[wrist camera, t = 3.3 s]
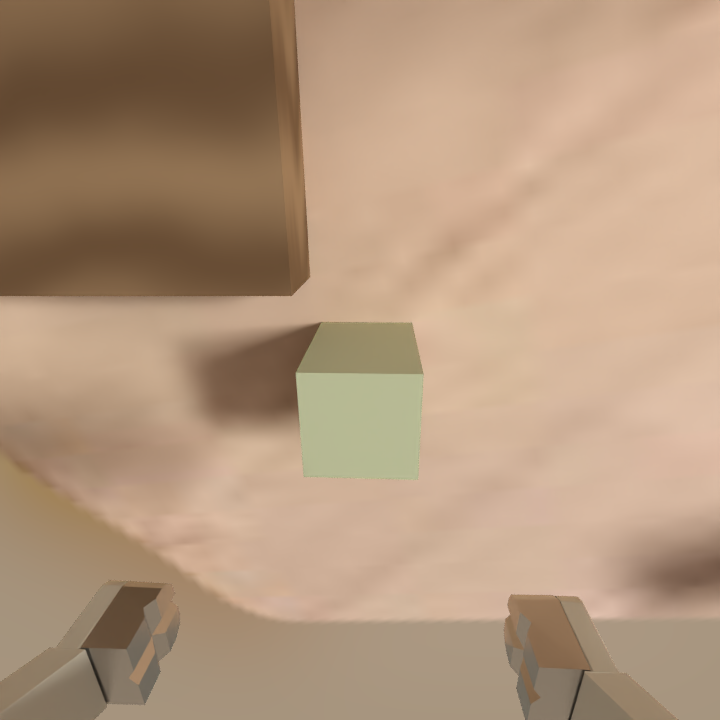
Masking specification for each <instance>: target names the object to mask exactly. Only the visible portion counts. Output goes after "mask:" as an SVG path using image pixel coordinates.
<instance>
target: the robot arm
mask: <svg viewBox="0 0 720 720" xmlns="http://www.w3.org/2000/svg"><path fill="white" fill-rule="evenodd" d="M174 594H175V592H174V589H173V586H172V584H168V583H152V582H137V581H118V580H109V581H108V582H106V583H105V584H103V585H102V586H101V588H100V589H99V590H98V592H97V593H96V594H95V596H94V597H93V598H92V600H91V601H90V602H89V604H88V605H87V606H86V608H85V609H84V611H83V612H82V613H81V614H80V616H79V617H78V618H77V620H76V621H75V623H74V624H73V625H72V627H71V628H70V629H69V631H68V632H67V633H66V635H65V636H64V638H63V639H62V640H61V642H60V643H59V644H58V645H57V647H56V648H48V649H47V650H45V651H44V652H43V653H41V654H40V655H39V656H37V657H35V658H34V659H32V660H31V661H30V662H28V663H27V664H25V665H24V666H22V667H21V668H20V669H18V670H17V671H15V672H14V673H12V674H11V675H9V676H8V677H7V678H5V679H4V680H2V681H1V682H0V720H94V719H95V718H96V717H97V716H98V715H99V714H100V713H101V712H102V711H103V710H104V709H105V708H106V707H107V704H138V705H145V703H146V701H147V699H148V697H149V695H150V693H151V690H152V689H153V686H154V684H155V682H156V680H157V678H158V676H159V674H160V666H159V661H160V660H161V659H162V658H163V657H164V656H165V655H167V654H168V653H169V652H170V651H171V649H172V646H173V644H174V642H175V640H176V637H177V633H178V629H179V624H180V612H179V608H178V606H177V605H176V604H175V603H173V602H172V601H171V600H172V598H173V596H174ZM508 609H509V612H510V616H508V617H507V618H506V619H505V625H504V626H505V627H504V639H505V646H506V652H507V656H508V660H509V664H510V666H511V668H512V669H513V670H514V671H515V672H516V673H517V674H518V675H519V677H518V682H517V688H516V689H517V692H518V696H519V699H520V703H521V706H522V710H523V713H524V717H525V720H678V719H677V718H676V717H675V716H674V715H673V714H671V713H670V712H669V711H668V710H667V709H666V708H665V707H664V706H663V705H661V704H660V703H659V702H658V701H657V700H656V699H655V698H654V697H652V696H651V695H650V694H649V693H648V692H647V691H646V690H645V689H644V688H642V687H641V686H640V685H639V684H638V683H637V682H636V681H635V680H633V679H632V678H631V677H630V676H629V675H628V674H627V673H619V672H618V670H617V668H616V666H615V664H614V662H613V660H612V658H611V656H610V654H609V652H608V650H607V648H606V646H605V644H604V643H603V641H602V639H601V637H600V635H599V633H598V631H597V629H596V627H595V625H594V623H593V621H592V619H591V617H590V615H589V613H588V611H587V610H586V608H585V606H584V604H583V602H582V601H581V600H580V599H579V598H578V597H574V596H553V595H511V596H510V597H509V600H508Z"/></svg>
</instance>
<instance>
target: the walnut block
mask: <svg viewBox="0 0 720 720" xmlns="http://www.w3.org/2000/svg"><path fill="white" fill-rule="evenodd" d="M309 277H310V267H309V250H308V232H307V215H306V198H305V181H304V164H303V147H302V129H301V112H300V95H299V78H298V61H297V43H296V26H295V9H294V0H0V296H292V295H293V294H294V293H295V292H296V291H297V290H298V289H299V288H300V287H301V286H302V285H303V284H304V283H305V282H306V280H307V279H308V278H309Z"/></svg>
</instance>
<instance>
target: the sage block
mask: <svg viewBox="0 0 720 720" xmlns="http://www.w3.org/2000/svg"><path fill="white" fill-rule="evenodd" d="M423 376H424V374H423V369H422V365H421V361H420V356H419V352H418V347H417V343H416V338H415V334H414V329H413V325H412V323H364V322H321V324H320V326H319V328H318V330H317V332H316V334H315V336H314V338H313V340H312V342H311V344H310V346H309V348H308V349H307V351H306V353H305V355H304V357H303V359H302V361H301V363H300V365H299V367H298V369H297V371H296V384H297V397H298V410H299V423H300V436H301V448H302V461H303V474H304V477H327V478H364V479H401V480H418V472H419V453H420V434H421V414H422V395H423Z"/></svg>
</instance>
